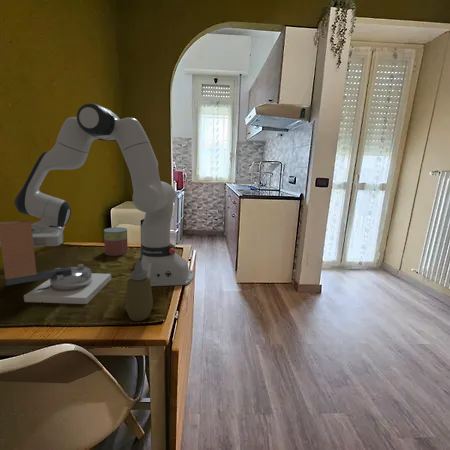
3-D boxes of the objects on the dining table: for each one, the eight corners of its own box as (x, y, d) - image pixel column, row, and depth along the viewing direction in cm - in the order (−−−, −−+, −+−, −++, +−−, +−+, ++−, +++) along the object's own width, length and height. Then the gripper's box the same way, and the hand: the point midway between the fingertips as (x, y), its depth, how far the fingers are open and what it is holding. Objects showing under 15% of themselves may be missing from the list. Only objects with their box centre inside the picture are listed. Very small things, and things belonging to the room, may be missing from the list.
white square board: (111, 279, 107) (111, 273, 106) (86, 304, 87) (86, 297, 86) (60, 277, 106) (60, 271, 106) (24, 301, 87) (23, 294, 86)
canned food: (110, 248, 145) (109, 226, 143) (131, 249, 145) (130, 227, 142) (100, 254, 134) (99, 231, 132) (122, 256, 134) (121, 232, 131)
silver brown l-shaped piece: (88, 273, 105) (84, 214, 100) (95, 285, 95) (91, 220, 90) (8, 287, 91) (-1, 219, 86) (6, 303, 80) (-4, 227, 76)
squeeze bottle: (155, 309, 86) (155, 256, 82) (149, 324, 78) (149, 265, 74) (130, 309, 85) (128, 255, 82) (121, 323, 77) (119, 264, 74)
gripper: (4, 226, 97) (-23, 236, 83) (66, 226, 101) (49, 236, 87) (6, 243, 98) (-20, 255, 85) (67, 242, 102) (51, 254, 89)
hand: (16, 245), depth 86 cm, fingers closed
